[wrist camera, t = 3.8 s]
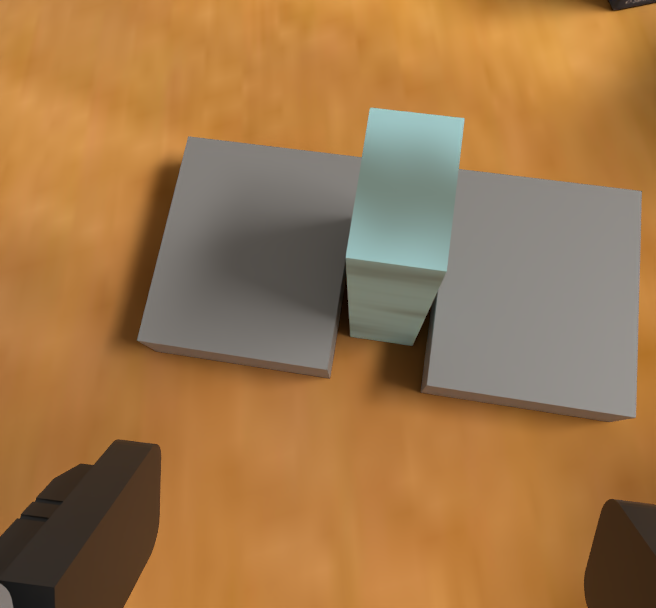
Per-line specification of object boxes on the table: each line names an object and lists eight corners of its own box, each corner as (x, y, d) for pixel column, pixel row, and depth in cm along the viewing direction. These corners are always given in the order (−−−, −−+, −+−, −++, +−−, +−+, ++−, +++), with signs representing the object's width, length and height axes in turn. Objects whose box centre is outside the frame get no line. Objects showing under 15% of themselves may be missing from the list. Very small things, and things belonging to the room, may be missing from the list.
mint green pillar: (365, 238, 34) (370, 107, 22) (425, 246, 34) (464, 118, 21) (350, 336, 33) (345, 257, 20) (412, 346, 32) (446, 271, 20)
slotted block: (201, 162, 36) (188, 136, 33) (617, 214, 34) (641, 191, 31) (156, 351, 33) (136, 340, 30) (609, 422, 31) (635, 417, 28)
